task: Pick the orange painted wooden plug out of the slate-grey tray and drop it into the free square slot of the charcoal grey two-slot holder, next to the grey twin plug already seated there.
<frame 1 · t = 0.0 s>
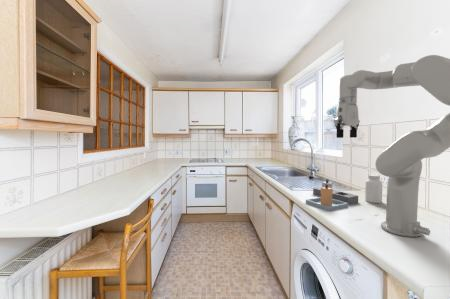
hand: (346, 137, 106), 37 cm above the countertop, tool pointing down, fingers open, 9 cm apart
grey two-slot holder: (334, 199, 129), on the countertop
tray: (326, 206, 117), on the countertop
twin plug: (326, 197, 134), resting in grey two-slot holder
pill bottle: (373, 201, 124), on the countertop
plug: (326, 204, 117), point 1 cm above the countertop, touching tray
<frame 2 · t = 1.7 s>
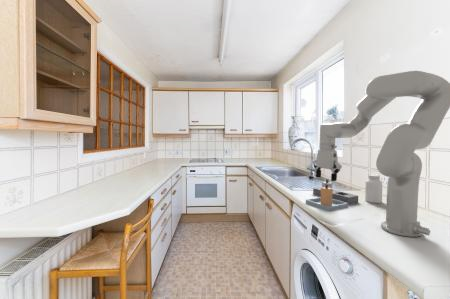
hand: (325, 179, 116), 15 cm above the countertop, tool pointing down, fingers open, 9 cm apart
nothing on the countertop moved.
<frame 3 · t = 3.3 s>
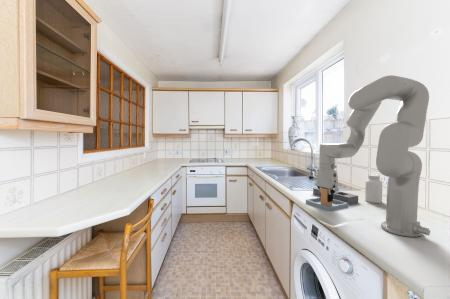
hand: (326, 200, 116), 3 cm above the countertop, tool pointing down, fingers closed on plug, 4 cm apart
plug: (326, 204, 117), point 1 cm above the countertop, touching gripper, tray
everything else where it was.
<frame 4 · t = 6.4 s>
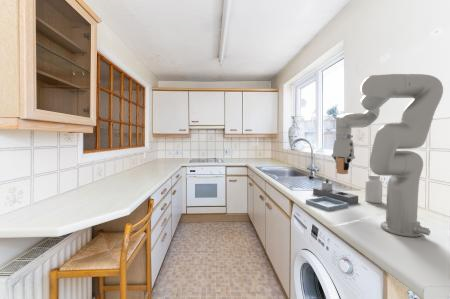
hand: (342, 169, 124), 19 cm above the countertop, tool pointing down, fingers closed on plug, 4 cm apart
plug: (342, 173, 124), point 16 cm above the countertop, touching gripper
everything else where it was.
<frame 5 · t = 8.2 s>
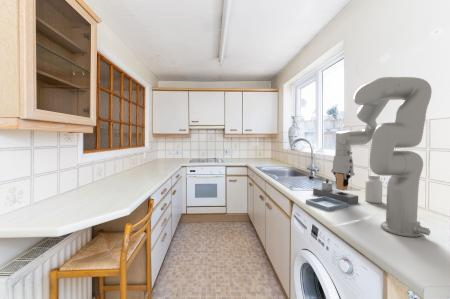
hand: (341, 184, 124), 10 cm above the countertop, tool pointing down, fingers closed on plug, 4 cm apart
plug: (341, 189, 125), point 7 cm above the countertop, touching gripper
everything else where it was.
when the fingers open (6 cm above the countertop, at t = 9.5 s): plug drops 3 cm, resting in grey two-slot holder.
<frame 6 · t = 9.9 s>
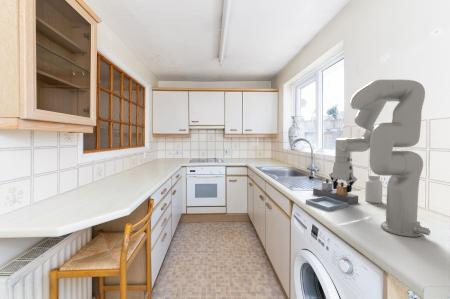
hand: (341, 190, 124), 6 cm above the countertop, tool pointing down, fingers open, 7 cm apart
plug: (341, 201, 125), resting in grey two-slot holder
everything else where it was.
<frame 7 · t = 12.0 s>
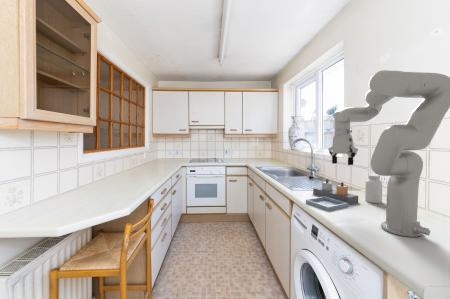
hand: (342, 164, 119), 22 cm above the countertop, tool pointing down, fingers open, 9 cm apart
nothing on the countertop moved.
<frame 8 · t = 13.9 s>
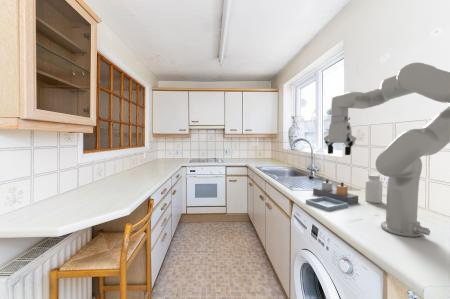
hand: (338, 154, 110), 28 cm above the countertop, tool pointing down, fingers open, 9 cm apart
nothing on the countertop moved.
at the end: plug 0.1 cm from the target spot on the grey two-slot holder, point 0.0 cm above the grey two-slot holder's base; plug tilted 0°; the gripper is holding nothing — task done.
